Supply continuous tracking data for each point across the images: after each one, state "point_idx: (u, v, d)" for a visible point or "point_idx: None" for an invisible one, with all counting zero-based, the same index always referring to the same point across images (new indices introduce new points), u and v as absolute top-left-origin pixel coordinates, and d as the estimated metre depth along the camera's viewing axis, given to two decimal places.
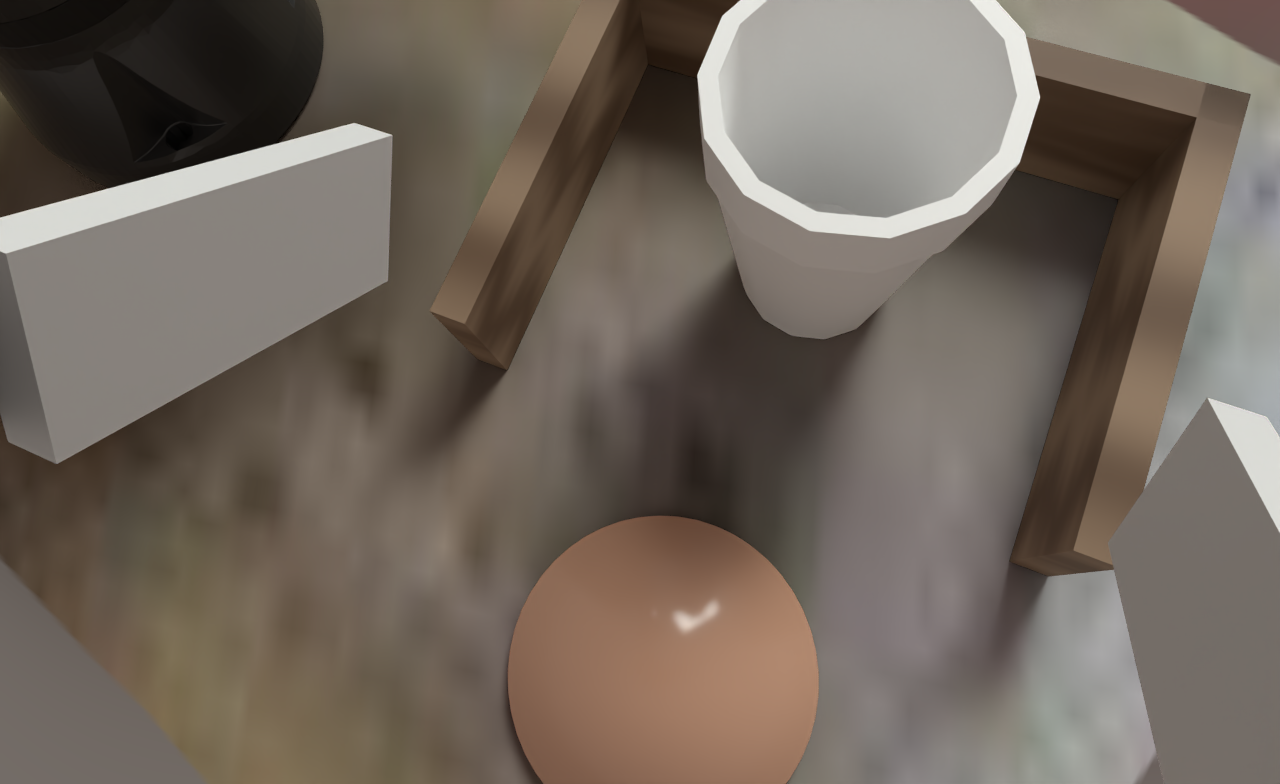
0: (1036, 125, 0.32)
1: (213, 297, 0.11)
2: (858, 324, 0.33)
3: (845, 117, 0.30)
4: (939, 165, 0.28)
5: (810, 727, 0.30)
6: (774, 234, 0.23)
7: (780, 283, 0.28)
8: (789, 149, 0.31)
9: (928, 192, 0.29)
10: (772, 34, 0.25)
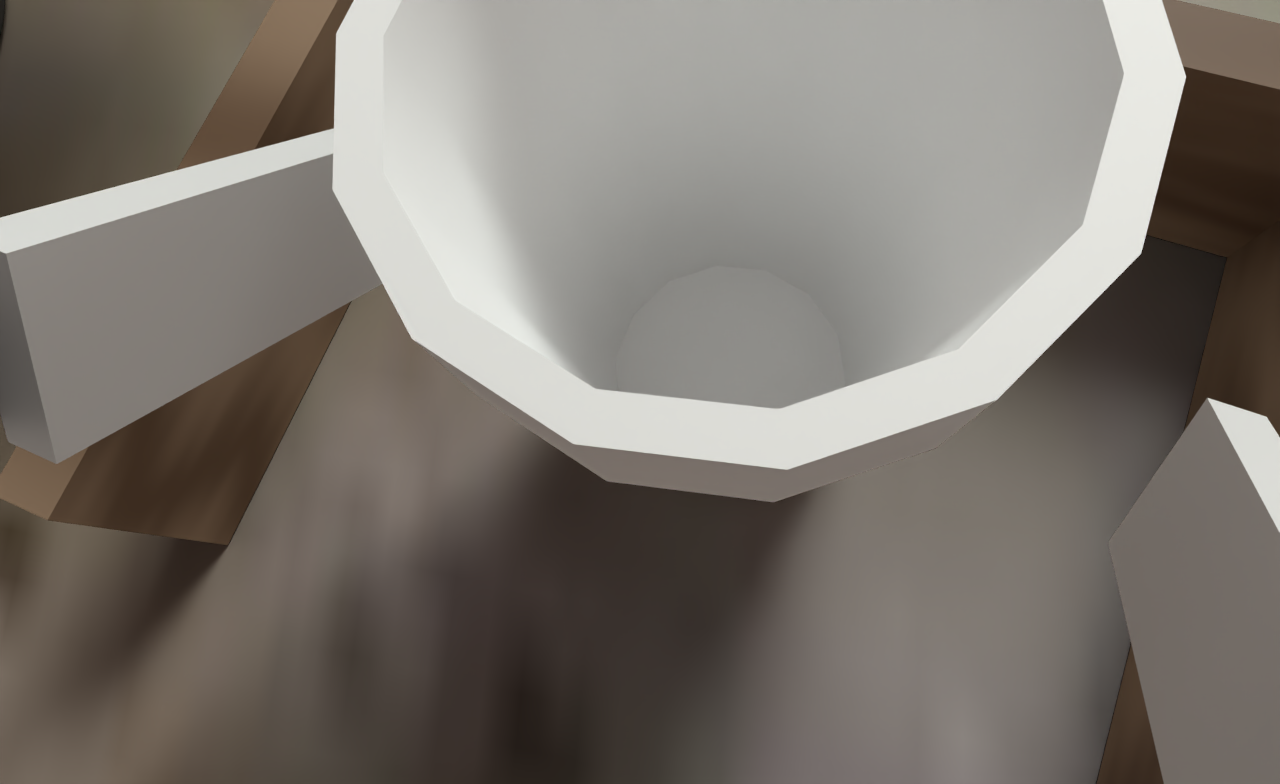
0: None
1: (213, 296, 0.11)
2: None
3: (754, 128, 0.16)
4: (927, 221, 0.14)
5: None
6: (523, 420, 0.10)
7: None
8: (663, 186, 0.18)
9: (908, 269, 0.15)
10: None
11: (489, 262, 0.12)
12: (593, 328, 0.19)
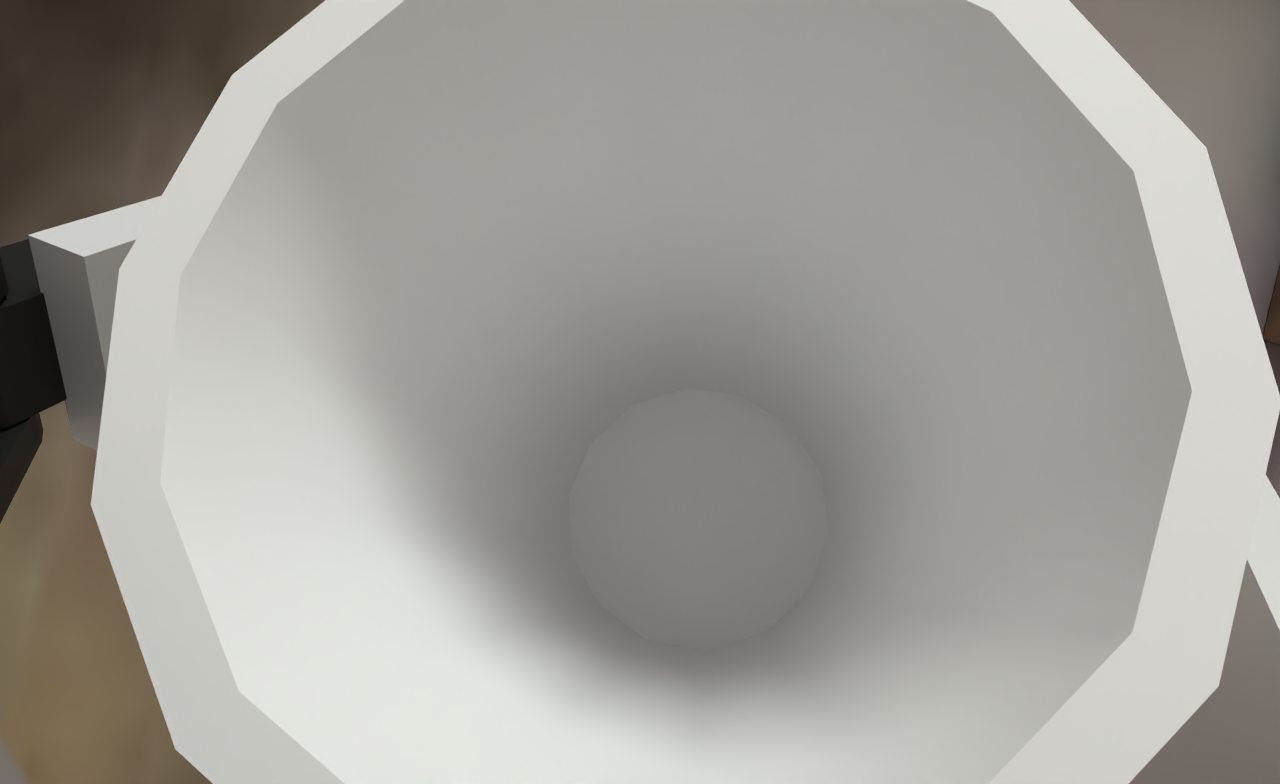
0: None
1: None
2: None
3: (719, 274, 0.14)
4: (921, 416, 0.12)
5: None
6: None
7: None
8: (616, 325, 0.15)
9: (897, 455, 0.13)
10: (450, 116, 0.09)
11: (367, 495, 0.10)
12: (537, 477, 0.17)
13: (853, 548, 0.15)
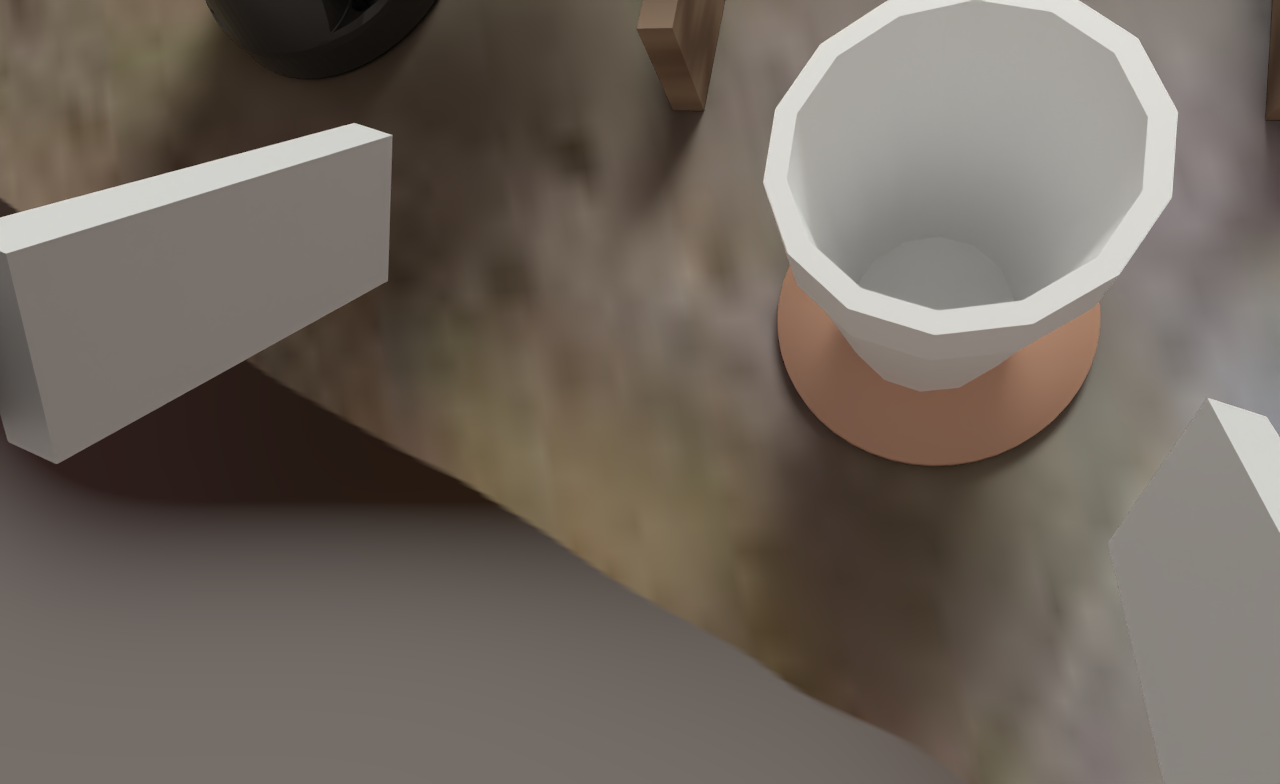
0: None
1: (213, 296, 0.11)
2: (994, 367, 0.30)
3: (930, 155, 0.27)
4: (1056, 189, 0.24)
5: (1097, 318, 0.30)
6: (891, 337, 0.20)
7: (902, 363, 0.25)
8: (874, 202, 0.28)
9: (1048, 217, 0.25)
10: (834, 105, 0.23)
11: None
12: None
13: (1033, 284, 0.27)
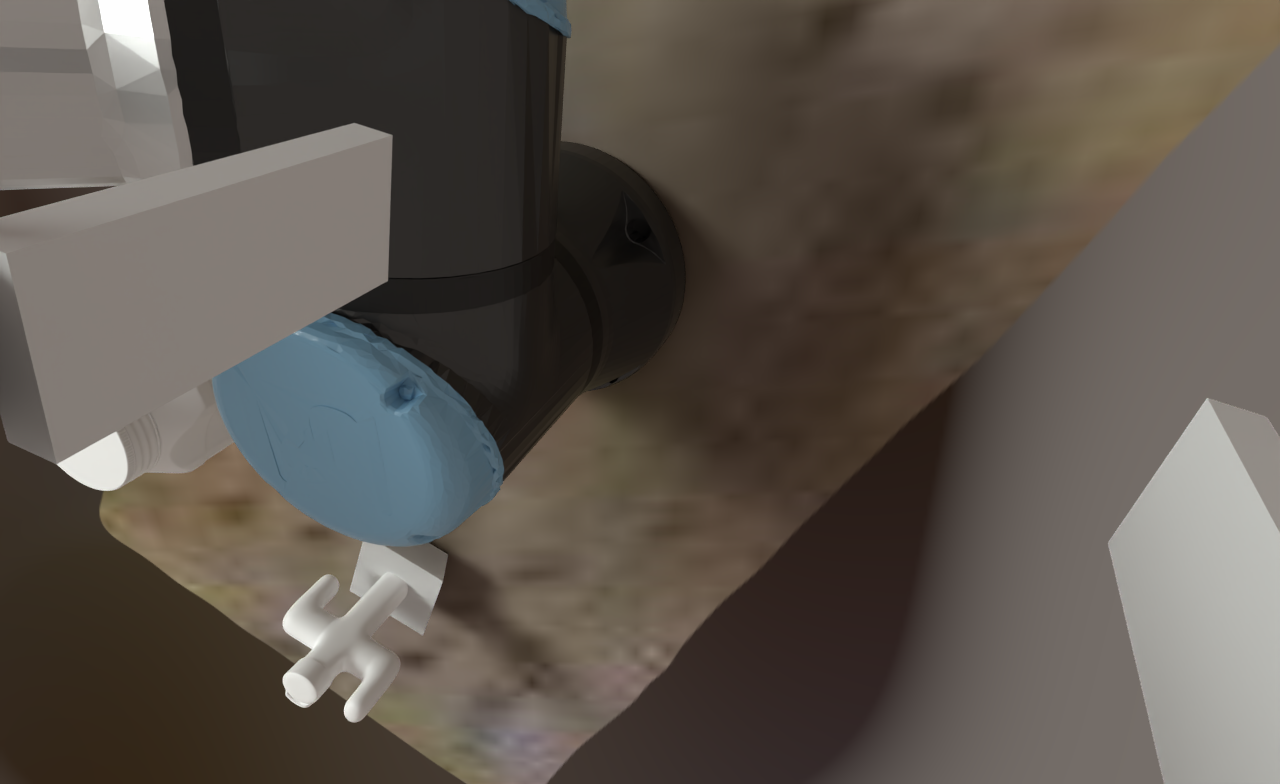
0: None
1: (213, 296, 0.11)
2: None
3: None
4: None
5: None
6: None
7: None
8: None
9: None
10: None
11: None
12: None
13: None
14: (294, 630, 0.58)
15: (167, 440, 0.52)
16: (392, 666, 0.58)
